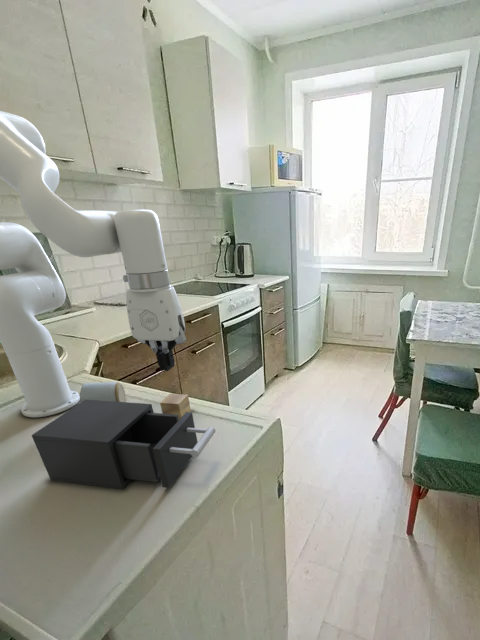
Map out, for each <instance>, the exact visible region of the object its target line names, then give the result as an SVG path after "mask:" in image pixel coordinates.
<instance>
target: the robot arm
mask: <svg viewBox="0 0 480 640" xmlns="http://www.w3.org/2000/svg"><path fill="white" fill-rule="evenodd" d="M0 179H1V180H2V181H3V182H4V183H6V184H7V185H8V186H9V187H11V188H12V189H13V190H14V191H16V192H17V193H18V194H19V200H20V204H21V205H22V208H23V210H24V212H25V215H26V216H27V218H28V220H29V221H30V222H31V224H32V226H34V227H35V229H37V230H38V231H39V232H40V233H41V234H42V235H43V236H45V237H46V238H47V239H49V240H50V241H51V242H52V243H53V244H55V245H56V246H57V247H59V248H60V249H61V250H63V251H65V252H66V253H68V254H70V255H73V256H74V257H79V258H93V257H98V256H99V257H100V256H104V255H105V256H106V255H114V254H119V253H121V256H122V260H123V265H124V269H125V274H124V275H123V276H122V281H123V282H124V283H128V287H129V288H128V289H126V292H125V298H126V299H125V302H126V311H127V319H128V324H129V329H130V334H131V336H132V337H133V338H134V339H135V340H136V341H137V342H138V343H140V344H145V345H147V346H148V347H149V348H150V349H151V351H152V353H154V354H155V357H156V361H157V365H158V368H159V371H160V372H163V371H165V372H169V371H170V370H171V369H173V368H174V367H175V363H176V362H175V357H174V351H173V350H174V349H175V347H176V346H178V345H182V344H184V343H186V342H187V337H186V335H185V333H186V325H185V318H184V314H183V310H182V307H181V303H180V300H179V297H178V294H177V292H176V289H175V287H174V286H172V284H171V280H170V275H169V269H168V264H167V258H166V252H165V245H164V242H163V241H164V240H163V236H162V235H163V234H162V230H161V225H160V220H159V216H158V215H157V213H156V212H155V211H154V210H151V209H126V210H125V209H123V210H119V211H117V210H98V209H97V210H95V209H94V210H92V209H89V210H88V209H87V210H86V209H79V210H77V209H75V208H73V207H72V206H71V205H69V204H68V203H66V202H65V201H64V200H63V199H61V197H60V196H58V195H57V194H56V193H55V192H56V190H57V188H58V186H59V184H60V171H59V167H58V166H57V164H56V163H55V161H53V160H52V159H51V158H50V157H49V156H48V155H47V150H46V143H45V141H44V137H43V136H42V134H41V132H40V131H39V130H38V128H36V126H35V125H34V124H33V123H32V122H30V121H29V120H27V119H26V118H25V117H22V116H20V115H18V114H14V113H11V112H7V111H3V110H0ZM10 269H15V271H16V272H14V273H9V274H4V275H0V344H1V346H2V348H3V351H4V353H5V355H6V358H7V360H8V362H9V365H10V367H11V370H12V372H13V374H14V377H15V379H16V382H17V384H18V387H19V388H20V392H21V393H22V396H23V398H24V400H25V403H24V404H23V405H22V406H21V408H20V411H21V414H22V415H23V416H24V417H27V418H44V417H49V416H53V415H57V414H59V413H63V412H66V411H68V410H70V409H72V408H73V407H75V406H76V405H78V404H79V402H80V392H78V391H76V390H71V388H70V385H69V383H68V379H67V377H66V374H65V371H64V368H63V366H62V363H61V359H60V357H59V354H58V352H57V349H56V346H55V343H54V339H53V337H52V335H51V333H50V331H49V330H48V329H47V327H45V326H44V325H43V324H42V322H40V321H39V320H38V319H37V318H36V317H35V316H38V315H41V314H45V313H47V312H51V311H54V310H56V309H59V308H60V307H62V306H63V305H64V303H65V302H66V297H67V296H66V295H67V294H66V293H67V292H66V289H65V286H64V284H63V282H62V279H61V277H60V276H59V274H58V273H57V270H56V269H55V267H54V266H53V264H52V262H51V260H50V258H49V256H48V255H47V253H46V251H45V249H44V247H43V246H42V244H41V242H40V241H39V240H38V238H37V236H35V234H34V233H32V232H31V231H30V230H29V228H26V227H25V226H24V225H21V224H19V223H17V222H10V221H0V271H3V270H10Z"/></svg>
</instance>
